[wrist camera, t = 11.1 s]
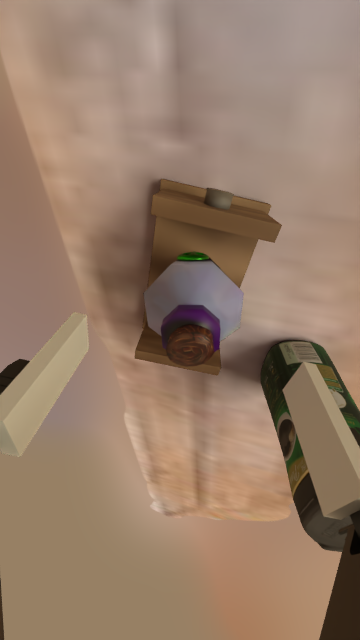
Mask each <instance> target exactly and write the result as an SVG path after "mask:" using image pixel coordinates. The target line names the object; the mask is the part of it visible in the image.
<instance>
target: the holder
mask: <svg viewBox="0 0 360 640" xmlns="http://www.w3.org/2000/svg"><path fill="white" fill-rule="evenodd" d="M270 207H271V205H270V204H268V203H263V202H259V201H255V200H251V199H246V198H242V197H238V196H234V194H232V193H229V192H226V191H222V190H218V189H213V188H207V189H204V188H200V187H195V186H191V185H187V184H183V183H178V182H174V181H170V180H165V179H161V184H160V192H158V193H156V194H154V195H153V199H152V207H151V215H156V224H155V232H154V240H153V248H152V256H151V264H150V272H149V280H148V288H149V287H150V286H151V285H152V284H153V283H154V281H155V280H156V279H157V278H158V277H159V276H160V275H161V274H162V273H163V272H164V271H165V270H166V269H167V268H168V267H169V266H170V265H171V264H172V263H174V262H175V261H176V260H177V256H179V255H180V254H182V253H185V252H193V251H195V252H200V253H204V254H206V255H208V256H209V257H210V258H211V259H212V260H213V261H214V262H215V263H216V264H217V265H218V266H219V267H220V269H221V270H222V271H223V272H224V273H225V274H226V275H227V276H228V277H229V278H230V279H231V280H232V281H233V282H234V283H235V284H236V286H237V287H238V288H240V286H241V283H242V281H243V278H244V275H245V273H246V270H247V267H248V265H249V262H250V260H251V257H252V254H253V252H254V249H255V247H256V244H257V241H258V239H260V240H265V241H269V242H274V243H275V240H276V238H277V236H278V233H279V231H280V229H281V226H282V225H281V224H280V223H278V222H277V221H276V220H274V219H273V218H271V217H270V216H269V215H268V213H269V210H270ZM148 288H147V289H148ZM142 328H143V332H142V334H141V337H140V340H139V342H138V345H137V348H136V351H135V359H140V360H145V361H150V362H155V363H160V364H164V365H169V366H174V367H179V368H184V369H189V370H193V371H198V372H203V373H208V374H213V375H218V374H219V371H220V369H221V361H220V349H219V350H217V351H216V352H214V354H213V356H212V357H211V358H210V359H209V360H208V361H207V362H205V363H204V364H201V365H198V366H189V367H186V366H181V365H177V364H175V363H173V362H172V361H170V359H169V358H168V356H167V353H166V350H165V349H164V348H163V346H162V337H161V336H160V335H159V334H158V333H156V332H155V331H154V330H152V329H151V328H150V327H148V321H147V314H146V307H145V312H144V319H143V327H142Z"/></svg>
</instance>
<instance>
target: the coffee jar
mask: <svg viewBox="0 0 360 640" xmlns="http://www.w3.org/2000/svg"><path fill="white" fill-rule="evenodd" d="M303 362H307V363H312V364H316V366H317V368H318V370H319V372H320V374H321V375H322V377H323V379H324V381H325V383H326V385H327V387H328V389H329V391H330V392H331V394H332V396H333V398H334V400H335V402H336V404H337V406H338V408H339V410H340V411H341V413H342V415H343V417H344V419H345V421H346V423H347V425H348V427H351V428H355V429H356V430H357V432H358V433H359V434H360V411H359V409H358V408H357V406H356V404H355V402H354V401H353V399H352V397H351V395H350V394H349V392H348V390H347V388H346V387H345V385H344V383H343V381H342V379H341V377H340V375H339V373H338V372H337V370H336V368H335V366H334V364H333V363H332V361H331V359H330V357H329V356H328V354H327V353H326V351H325V350H324V348H323V347H321V346H320V345H318V344H315V343H312V342H307V341H286V342H282V343H279V344H277V345H275V346H273V347H272V348H271V349H270V350H269V352H268V354H267V356H266V359H265V361H264V364H263V367H262V371H261V385H262V388H263V391H264V395H265V398H266V400H267V404H268V407H269V410H270V413H271V416H272V419H273V422H274V426H275V429H276V432H277V435H278V439H279V442H280V445H281V449H282V452H283V456H284V460H285V464H286V468H287V473H288V478H289V482H290V487H291V492H292V496H293V500H294V503H295V506H296V509H297V511H298V514H299V517H300V521H301V523H302V526H303V528H304V530H305V531H306V533H307V534H308V535H309V536H310V537H311V538H312V539H313V540H314V541H316V542H317V543H318V544H319V545H320V546H321V547H322V548H323V549H325V550H330V551H338V552H342V551H343V547H344V544H345V538H346V536H347V533H345V534H342V535H340V534H339V533H338V532H339V530H340V529H341V528H344V527H346V526H348V525H351V524H353V522H352V520H351V517H350V516H348V517H345V518H343V519H341V520H339V519H334V518H329V517H324V516H323V513H322V510H321V507H320V504H319V500H318V497H317V494H316V491H315V488H314V485H313V482H312V479H311V476H310V473H309V470H308V467H307V464H306V460H305V457H304V454H303V451H302V448H301V445H300V442H299V439H298V436H297V433H296V430H295V427H294V424H293V420H292V417H291V414H290V411H289V408H288V405H287V402H286V399H285V396H284V393H283V389H284V387H285V386H286V385H287V383H288V382H289V380H290V379H291V378H292V376H293V375H294V374H295V372H296V371H297V370H298V368H299V367H300V365H301V364H302V363H303Z"/></svg>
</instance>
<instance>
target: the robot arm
mask: <svg viewBox="0 0 360 640" xmlns="http://www.w3.org/2000/svg"><path fill="white" fill-rule="evenodd" d="M88 350H89V341H88V325H87V315H85V314H80V313H76V312H74V313H73V314H72V315H71V316H70V317H69V318H68V319H67V321H66V322H65V323H64V324H63V325H62V326H61V327H60V328H59V329H58V331H57V332H56V333H55V334H54V335H53V336H52V337H51V338H50V340H49V341H48V342H47V343H46V344H45V345H44V347H43V348H42V349H41V350H40V351H39V352H38V353H37V354H36V355H35V356H34V358H33V359H32V360H31V361H27V360H23V359H19V360H17V361H15V362H13V363H12V364H10V365H8V366H7V367H6V368H5V369H4V370H3V371H2V372H1V373H0V450H1V452H2V453H3V454H9V455H14V456H19V457H21V455H22V454H23V452H24V450H25V449H26V447H27V446H28V444H29V443H30V441H31V440H32V438H33V436H34V435H35V433H36V432H37V430H38V428H39V427H40V425H41V424H42V422H43V420H44V419H45V417H46V416H47V414H48V413H49V411H50V410H51V408H52V406H53V405H54V403H55V401H56V400H57V398H58V397H59V395H60V394H61V392H62V391H63V389H64V387H65V386H66V384H67V383H68V381H69V380H70V378H71V376H72V375H73V373H74V372H75V370H76V369H77V367H78V365H79V364H80V362H81V361H82V359H83V357H84V356H85V354H86V353H87V351H88ZM283 393H284V396H285V399H286V402H287V405H288V408H289V411H290V414H291V417H292V420H293V424H294V427H295V430H296V433H297V436H298V439H299V442H300V445H301V448H302V451H303V454H304V457H305V460H306V464H307V467H308V470H309V473H310V476H311V479H312V482H313V485H314V488H315V491H316V494H317V497H318V500H319V504H320V507H321V510H322V513H323V516H324V517H329V518H334V519H339V520H341V519H343V518H345V517H348V516H350V517H351V520H352V522H353V524H351V525H348V526H346V527H344V528H341V529H340V530H339V532H338V533H339V534H340V535H342V534H345V533H347V536H346V538H345V544H344V547H343V551H342V555H341V559H340V563H339V567H338V570H337V574H336V578H335V582H334V586H333V589H332V594H331V597H330V601H329V605H328V608H327V612H326V617H325V620H324V624H323V628H322V631H321V635H320V639H319V640H360V434H359V433H358V432H357V430H356V429H355V428H351V427H348V425H347V423H346V421H345V419H344V417H343V415H342V413H341V411H340V410H339V408H338V406H337V404H336V402H335V400H334V398H333V396H332V394H331V392H330V391H329V389H328V387H327V385H326V383H325V381H324V379H323V377H322V375H321V374H320V372H319V370H318V368H317V366H316V364H312V363H307V362H303V363H302V364H301V365H300V367H299V368H298V370H297V371H296V372H295V374H294V375H293V376H292V378H291V379H290V380H289V382H288V383H287V385H286V386H285V387H284V389H283ZM0 640H4V630H3V613H2V597H1V580H0Z"/></svg>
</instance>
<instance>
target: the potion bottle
mask: <svg viewBox="0 0 360 640" xmlns="http://www.w3.org/2000/svg"><path fill="white" fill-rule="evenodd" d="M143 294H144V300H145V307H146V314H147V321H148V327H150V328H151V329H152V330H154V331H155V332H156V333H158V334H159V335H160V336H161V337H162V346H163V348H164V349H165V350H166V353H167V356H168V358H169V359H170V361H172V362H173V363H175V364H177V365H181V366H186V367H189V366H198V365H201V364H204V363H205V362H207V361H208V360H209V359H210V358H211V357H212V356H213V354H214V352H216V351H217V350H219V345H220V341H222V340H223V339H225V338H226V337H227V336H229V335H230V334H232V333H233V332H234V331H236V330H237V329H239V328H240V320H241V312H242V303H243V295H244V293H243V292H242V291H241V290H240V289H239V288H238V287H237V286H236V284H235V283H234V282H233V281H232V280H231V279H230V278H229V277H228V276H227V275H226V274H225V273H224V272H223V271H222V270H221V269H220V267H219V266H218V265H217V264H216V263H215V262H214V261H213V260H212V259H211V258H210V257H209V256H208V255H206V254H204V253H200V252H195V251H193V252H185V253H182V254H180V255H179V256H177V260H176V261H175V262H174V263H172V264H171V265H170V266H169V267H168V268H167V269H166V270H165V271H164V272H163V273H162V274H161V275H160V276H159V277H158V278H157V279H156V280H155V281H154V283H153V284H152V285H151V286H150V287H149V288H148V289H147V290H146V291H145V292H144V293H143Z"/></svg>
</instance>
